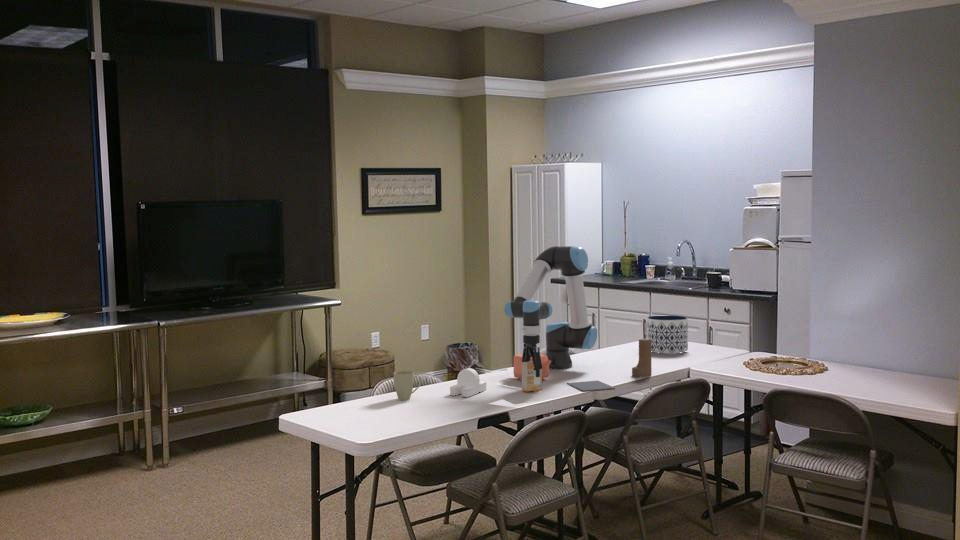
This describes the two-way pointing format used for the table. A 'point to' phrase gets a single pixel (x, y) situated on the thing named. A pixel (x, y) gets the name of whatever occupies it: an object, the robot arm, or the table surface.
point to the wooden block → (643, 359)
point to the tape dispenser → (468, 383)
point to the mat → (590, 386)
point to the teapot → (518, 360)
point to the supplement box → (530, 377)
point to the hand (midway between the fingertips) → (531, 381)
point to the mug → (404, 384)
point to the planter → (668, 333)
